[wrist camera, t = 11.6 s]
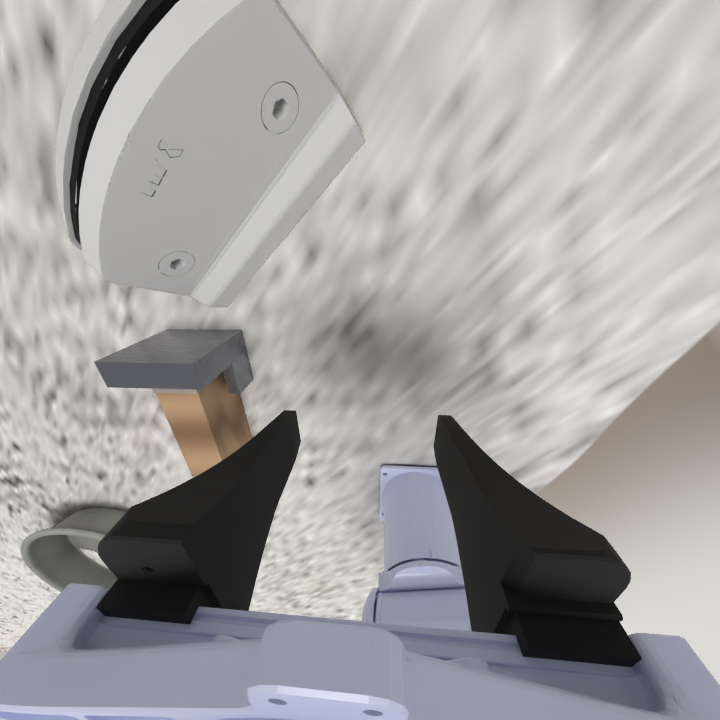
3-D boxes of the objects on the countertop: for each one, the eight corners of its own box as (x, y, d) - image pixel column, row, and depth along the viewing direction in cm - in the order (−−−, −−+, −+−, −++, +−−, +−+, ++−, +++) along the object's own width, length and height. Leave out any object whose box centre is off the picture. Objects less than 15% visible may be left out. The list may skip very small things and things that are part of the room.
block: (252, 439, 28) (228, 479, 24) (221, 438, 29) (191, 477, 24) (231, 358, 24) (195, 388, 19) (194, 358, 24) (151, 387, 20)
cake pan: (20, 497, 37) (-24, 529, 33) (175, 499, 35) (148, 534, 31) (107, 584, 48) (82, 616, 44) (231, 590, 45) (216, 625, 41)
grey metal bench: (252, 379, 25) (213, 423, 19) (184, 377, 25) (125, 420, 19) (241, 330, 22) (192, 363, 17) (166, 329, 23) (94, 361, 17)
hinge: (224, 310, 22) (61, 311, 12) (192, 267, 22) (7, 236, 13) (370, 135, 16) (268, -113, 7) (324, 79, 16) (161, -239, 7)
